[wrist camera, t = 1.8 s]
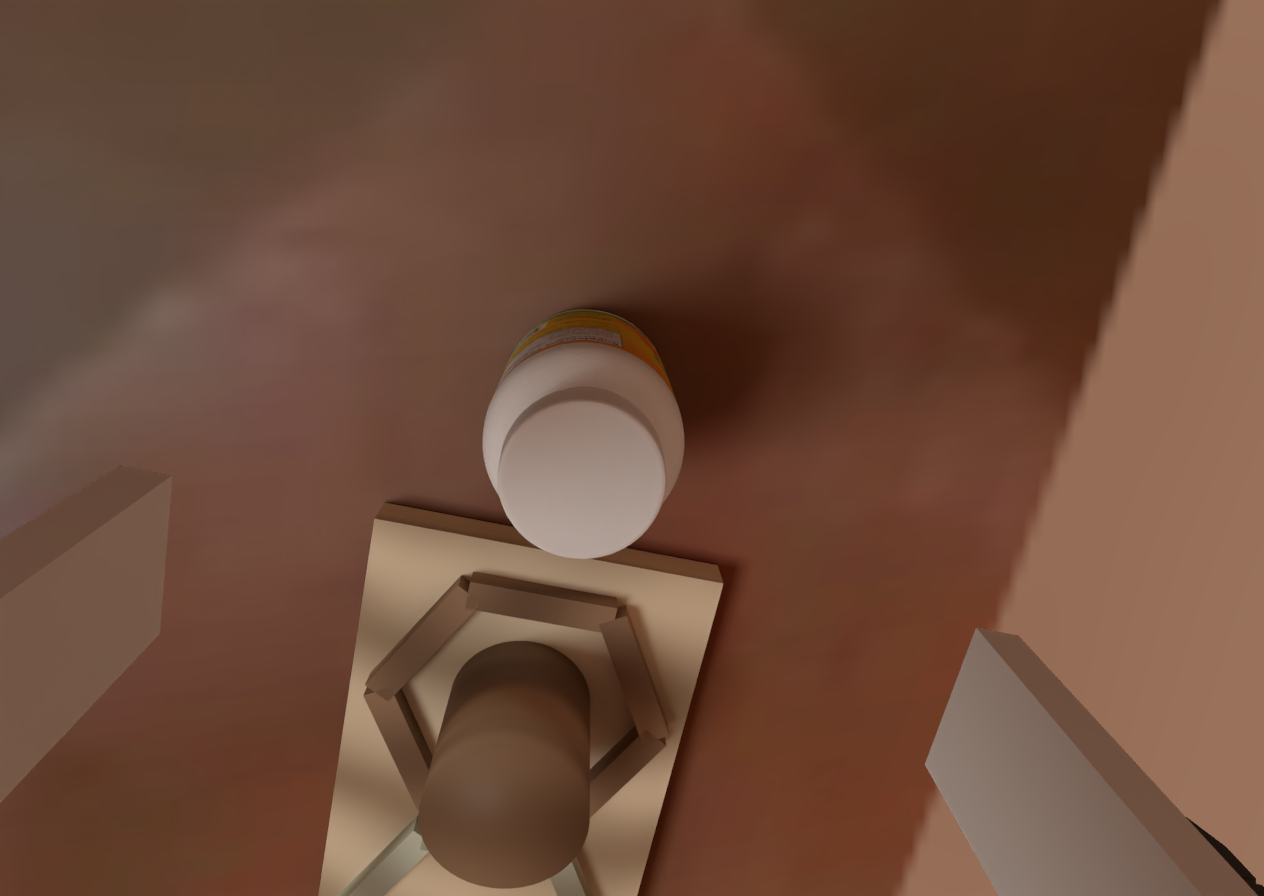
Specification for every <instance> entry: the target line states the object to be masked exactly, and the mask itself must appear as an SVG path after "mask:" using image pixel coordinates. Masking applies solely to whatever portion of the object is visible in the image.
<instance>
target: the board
mask: <svg viewBox="0 0 1264 896" xmlns="http://www.w3.org/2000/svg"><path fill="white" fill-rule="evenodd" d="M723 584H724V583H723V580H722V577H721V574H720V571H719V568H718V565H714V564H709V563H703V562H698V561H693V560H688V559H682V558H677V557H672V556H666V555H661V554H656V553H650V552H645V551H640V550H634V549H629V548H624V549H622V550H620V551H617V552H615V553H613V554H610V555H606V556H602V557H598V558H589V559H575V558H566V557H562V556H558V555H555V554H552V553H549V552H547V551H544V550H542V549H540V548H538V547H537V546H535V545H534V544H532V543H531V542H529V541H528V540H527V539H525V538H524V537H523V536H522V535H521V534H520V533H519V532H518V531H517V529H516V528H515V527H512V526H507V525H502V524H496V523H491V522H486V521H480V520H475V519H470V518H464V517H459V516H454V515H449V514H443V513H438V512H433V511H427V510H422V509H417V508H411V507H406V506H401V505H395V504H390V503H384V504H383V506H382V507H381V509H380V511H379V512H378V514H377V515H376V517H375V519H374V525H373V532H372V539H371V545H370V552H369V559H368V566H367V572H366V579H365V586H364V593H363V599H362V606H361V613H360V620H359V626H358V633H357V640H356V646H355V653H354V660H353V667H352V673H351V680H350V687H349V694H348V700H347V707H346V714H345V720H344V727H343V734H342V741H341V747H340V754H339V761H338V768H337V774H336V781H335V788H334V794H333V801H332V808H331V815H330V821H329V828H328V835H327V842H326V848H325V855H324V862H323V868H322V875H321V882H320V889H319V895H318V896H637V894H638V891H639V887H640V883H641V880H642V876H643V873H644V869H645V865H646V862H647V858H648V855H649V851H650V847H651V844H652V840H653V837H654V833H655V829H656V826H657V822H658V818H659V815H660V811H661V808H662V804H663V800H664V797H665V793H666V790H667V786H668V782H669V779H670V775H671V771H672V768H673V764H674V761H675V757H676V753H677V750H678V746H679V743H680V739H681V735H682V732H683V728H684V725H685V721H686V717H687V714H688V710H689V706H690V703H691V699H692V696H693V692H694V688H695V685H696V681H697V678H698V674H699V670H700V667H701V663H702V660H703V656H704V652H705V649H706V645H707V641H708V638H709V634H710V631H711V627H712V623H713V620H714V616H715V613H716V609H717V605H718V602H719V598H720V595H721V591H722V587H723ZM509 641H529V642H536V643H540V644H544V645H546V646H549V647H552V648H554V649H556V650H558V651H559V652H561V653H562V654H564V655H565V656H567V657H568V658H569V659H570V660H571V661H572V662H574V664H575V665H576V666H577V667H578V668H579V670H580V671H581V673H582V674H583V676H584V678H585V680H586V682H587V685H588V689H589V693H590V824H589V830H588V835H587V838H586V841H585V843H584V845H583V847H582V849H581V850H580V852H579V853H578V855H577V856H576V858H575V859H574V860H573V861H572V862H571V863H570V864H569V865H568V866H567V867H566V868H564V869H563V870H562V871H561V872H559V873H558V874H556V875H554V876H553V877H551V878H549V879H547V880H545V881H542V882H540V883H537V884H534V885H530V886H526V887H520V888H512V889H498V888H489V887H484V886H479V885H476V884H473V883H469V882H467V881H465V880H462V879H460V878H458V877H457V876H455V875H453V874H451V873H450V872H449V871H447V870H446V869H445V868H443V867H442V866H441V865H440V864H439V863H438V862H437V861H436V860H435V859H434V858H433V856H432V855H431V854H430V852H429V851H428V849H427V847H426V846H425V844H424V842H423V839H422V836H421V833H420V829H419V820H418V814H419V806H420V802H421V798H422V795H423V791H424V787H425V784H426V780H427V776H428V773H429V769H430V765H431V762H432V758H433V754H434V751H435V747H436V743H437V740H438V736H439V732H440V729H441V725H442V721H443V718H444V714H445V710H446V707H447V703H448V699H449V696H450V692H451V688H452V685H453V682H454V680H455V677H456V675H457V674H458V672H459V670H460V669H461V668H462V666H463V665H464V664H465V663H466V662H467V661H468V660H469V659H470V658H471V657H472V656H474V655H475V654H477V653H478V652H480V651H482V650H484V649H485V648H487V647H490V646H493V645H495V644H499V643H503V642H509Z"/></svg>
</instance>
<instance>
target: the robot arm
mask: <svg viewBox="0 0 1264 896" xmlns="http://www.w3.org/2000/svg"><path fill="white" fill-rule="evenodd" d="M171 487H172V475H168V474H162V473H157V472H152V471H147V470H141V469H136V468H131V467H126V466H119V467H117V468H116V469H114V470H113V471H111V472H109V473H108V474H106V475H104V476H103V477H101V478H100V479H98V480H96V481H95V482H93V483H91V484H90V485H88V486H87V487H85V488H83V489H82V490H80V491H78V492H77V493H75V494H74V495H72V496H70V497H69V498H67V499H65V500H64V501H62V502H61V503H59V504H57V505H56V506H54V507H52V508H51V509H49V510H48V511H46V512H44V513H43V514H41V515H40V516H38V517H36V518H35V519H33V520H31V521H30V522H28V523H27V524H25V525H23V526H22V527H20V528H18V529H17V530H15V531H14V532H12V533H10V534H9V535H7V536H5V537H4V538H2V539H1V540H0V802H1V801H2V800H3V799H4V798H5V797H6V796H7V795H8V794H9V793H10V792H11V791H12V790H13V789H14V788H15V787H16V785H17V784H18V783H19V782H20V781H21V780H22V779H23V778H24V777H25V776H26V775H27V774H28V773H29V772H30V771H31V770H32V769H33V767H34V766H35V765H36V764H37V763H38V762H39V761H40V760H41V759H42V758H43V757H44V756H45V755H46V754H47V753H48V752H49V750H50V749H51V748H52V747H53V746H54V745H55V744H56V743H57V742H58V741H59V740H60V739H61V738H62V737H63V736H64V735H65V734H66V732H67V731H68V730H69V729H70V728H71V727H72V726H73V725H74V724H75V723H76V722H77V721H78V720H79V719H80V718H81V717H82V716H83V714H84V713H85V712H86V711H87V710H88V709H89V708H90V707H91V706H92V705H93V704H94V703H95V702H96V701H97V700H98V699H99V697H100V696H101V695H102V694H103V693H104V692H105V691H106V690H107V689H108V688H109V687H110V686H111V685H112V684H113V683H114V682H115V681H116V679H117V678H118V677H119V676H120V675H121V674H122V673H123V672H124V671H125V670H126V669H127V668H128V667H129V666H130V665H131V664H132V663H133V661H134V660H135V659H136V658H137V657H138V656H139V655H140V654H141V653H142V652H143V651H144V650H145V649H146V648H147V647H148V646H149V644H150V643H151V642H152V641H153V640H154V639H155V638H156V637H157V636H158V635H159V634H160V624H161V611H162V599H163V586H164V574H165V562H166V549H167V537H168V524H169V512H170V500H171ZM925 766H926V768H927V769H928V771H929V773H930V775H931V776H932V778H933V780H934V782H935V784H936V785H937V787H938V789H939V791H940V792H941V794H942V796H943V798H944V800H945V801H946V803H947V805H948V807H949V808H950V810H951V812H952V814H953V816H954V817H955V819H956V821H957V823H958V824H959V826H960V828H961V830H962V832H963V833H964V835H965V837H966V838H967V841H968V842H969V844H970V846H971V848H972V849H973V851H974V853H975V855H976V856H977V858H978V860H979V862H980V864H981V865H982V867H983V869H984V871H985V873H986V874H987V876H988V878H989V880H990V881H991V883H992V885H993V887H994V889H995V890H996V892H997V894H998V896H1264V887H1263V886H1262V885H1258V884H1256V878H1255V877H1254V876H1253V875H1252V874H1251V873H1250V872H1249V871H1248V870H1247V869H1246V868H1245V867H1244V866H1243V864H1242V863H1241V862H1240V861H1239V860H1238V859H1237V858H1236V857H1235V856H1234V855H1233V854H1232V853H1231V852H1230V851H1229V850H1228V848H1226V847H1225V846H1224V845H1223V844H1221V843H1220V842H1219V841H1217V840H1216V839H1215V838H1214V837H1212V836H1211V835H1209V834H1208V833H1207V832H1205V831H1204V830H1203V829H1201V828H1200V827H1199V826H1198V825H1196V824H1195V823H1194V822H1192V821H1191V820H1190V819H1188V818H1187V817H1185V816H1184V815H1183V814H1182V813H1181V812H1180V811H1179V809H1178V808H1177V807H1176V806H1175V805H1174V804H1173V803H1172V802H1171V801H1170V800H1169V798H1168V797H1167V796H1166V795H1165V794H1164V793H1163V792H1162V791H1161V790H1160V789H1159V788H1158V787H1157V786H1156V784H1155V783H1154V782H1153V781H1152V780H1151V779H1150V778H1149V777H1148V776H1147V775H1146V774H1145V772H1143V770H1142V769H1141V768H1140V767H1139V766H1138V765H1137V764H1136V763H1135V762H1134V761H1133V759H1132V758H1131V757H1130V756H1129V755H1128V754H1127V753H1126V752H1125V751H1124V750H1123V749H1122V748H1121V746H1120V745H1119V744H1118V743H1117V742H1116V741H1115V740H1114V739H1113V738H1112V737H1111V736H1110V734H1109V733H1108V732H1107V731H1106V730H1105V729H1104V728H1103V727H1102V726H1101V725H1100V724H1099V723H1098V721H1097V720H1096V719H1095V718H1094V717H1093V716H1092V715H1091V714H1090V713H1089V712H1088V711H1087V709H1086V708H1085V707H1084V706H1083V705H1082V704H1081V703H1080V702H1079V701H1078V700H1077V699H1076V698H1075V697H1074V695H1072V693H1071V692H1070V691H1069V690H1068V689H1067V688H1066V687H1065V686H1064V685H1063V684H1062V682H1061V681H1060V680H1059V679H1058V678H1057V677H1056V676H1055V675H1054V674H1053V673H1052V672H1051V671H1050V669H1049V668H1048V667H1047V666H1046V665H1045V664H1044V663H1043V662H1042V661H1041V660H1040V659H1039V657H1038V656H1037V655H1036V654H1035V653H1034V652H1033V651H1032V650H1031V649H1030V648H1029V647H1028V645H1027V644H1026V643H1025V642H1024V641H1023V640H1022V639H1021V638H1020V637H1019V636H1018V635H1012V634H1006V633H1002V632H996V631H991V630H986V629H981V628H976V629H975V632H974V635H973V637H972V640H971V643H970V645H969V648H968V651H967V653H966V656H965V659H964V661H963V664H962V667H961V669H960V672H959V675H958V677H957V680H956V683H955V685H954V688H953V691H952V693H951V696H950V699H949V702H948V704H947V707H946V710H945V712H944V715H943V718H942V720H941V723H940V726H939V728H938V731H937V734H936V736H935V739H934V742H933V744H932V747H931V750H930V752H929V755H928V758H927V760H926V763H925Z"/></svg>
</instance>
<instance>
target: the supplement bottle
mask: <svg viewBox="0 0 1264 896" xmlns="http://www.w3.org/2000/svg"><path fill="white" fill-rule="evenodd" d="M483 455H484V461H485V465H486V469H487V472H488V475H489V478H490V480H491V483H492V485H493V487H494V489H495V490H496V492H497V494H498V495H499V497H500V500H501V503H502V506H503V508H504V511H505V513H506V515H507V517H508V518H509V520H510V521H511V523H512V524H513V526H514V527H515V528H516V529H517V531H518V532H519V533H520V534H521V535H522V536H523V537H524V538H525V539H527V540H528V541H529V542H531V543H532V544H534V545H535V546H537V547H538V548H540V549H542V550H544V551H547V552H549V553H552V554H555V555H558V556H562V557H566V558H575V559H589V558H598V557H602V556H606V555H610V554H613V553H615V552H617V551H620V550H622V549H624V548H626V547H627V546H629V545H630V544H632V543H633V542H634V541H636V540H637V539H638V538H639V537H640V536H642V535H643V534H644V532H645V531H646V530H647V529H648V528H649V527H650V525H651V524H652V523H653V521H654V520H655V518H656V516H657V514H658V512H659V510H660V508H661V505H662V503H663V502H664V501H665V499H666V498H667V496H668V495H669V493H670V492H671V490H672V488H673V486H674V485H675V482H676V480H677V478H678V475H679V472H680V469H681V465H682V461H683V455H684V429H683V423H682V417H681V414H680V410H679V407H678V404H677V402H676V399H675V396H674V393H673V390H672V387H671V384H670V382H669V379H668V376H667V374H666V371H665V368H664V366H663V363H662V361H661V358H660V356H659V354H658V353H657V351H656V349H655V347H654V346H653V345H652V343H651V342H650V340H649V339H648V338H647V337H646V336H645V335H644V334H643V333H642V332H641V331H640V330H639V329H638V328H637V327H636V326H634V325H633V324H632V323H630V322H628V321H627V320H625V319H623V318H621V317H619V316H617V315H614V314H611V313H608V312H604V311H598V310H587V309H579V310H570V311H566V312H562V313H559V314H556V315H554V316H552V317H550V318H547V319H545V320H544V321H542V322H541V323H539V324H538V325H536V326H535V327H534V328H533V329H531V330H530V331H529V332H528V333H527V334H526V335H525V336H524V337H523V338H522V340H521V341H520V342H519V344H518V345H517V347H516V348H515V349H514V351H513V353H512V355H511V357H510V359H509V361H508V363H507V365H506V368H505V370H504V372H503V375H502V377H501V379H500V382H499V384H498V387H497V389H496V391H495V393H494V395H493V397H492V399H491V402H490V405H489V407H488V410H487V414H486V418H485V423H484V430H483Z"/></svg>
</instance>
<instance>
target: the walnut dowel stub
mask: <svg viewBox="0 0 1264 896" xmlns="http://www.w3.org/2000/svg"><path fill="white" fill-rule="evenodd" d="M418 820H419V829H420V833H421V836H422V839H423V842H424V844H425V846H426V847H427V849H428V851H429V852H430V854H431V855H432V856H433V858H434V859H435V860H436V861H437V862H438V863H439V864H440V865H441V866H442V867H443V868H445V869H446V870H447V871H449V872H450V873H451V874H453V875H455V876H457V877H458V878H460V879H462V880H465V881H467V882H469V883H473V884H476V885H479V886H484V887H489V888H498V889H512V888H520V887H526V886H530V885H534V884H537V883H540V882H542V881H545V880H547V879H549V878H551V877H553V876H554V875H556V874H558V873H559V872H561V871H562V870H563V869H564V868H566V867H567V866H568V865H569V864H570V863H571V862H572V861H573V860H574V859H575V858H576V856H577V855H578V853H579V852H580V850H581V849H582V847H583V845H584V843H585V841H586V838H587V835H588V830H589V824H590V693H589V689H588V685H587V682H586V680H585V678H584V676H583V674H582V673H581V671H580V670H579V668H578V667H577V666H576V665H575V664H574V662H572V661H571V660H570V659H569V658H568V657H567V656H565V655H564V654H562V653H561V652H559V651H558V650H556V649H554V648H552V647H549V646H546V645H544V644H540V643H536V642H529V641H509V642H503V643H499V644H495V645H493V646H490V647H487V648H485V649H484V650H482V651H480V652H478V653H477V654H475V655H474V656H472V657H471V658H470V659H469V660H468V661H467V662H466V663H465V664H464V665H463V666H462V668H461V669H460V670H459V672H458V674H457V675H456V677H455V680H454V682H453V685H452V688H451V692H450V696H449V699H448V703H447V707H446V710H445V714H444V718H443V721H442V725H441V729H440V732H439V736H438V740H437V743H436V747H435V751H434V754H433V758H432V762H431V765H430V769H429V773H428V776H427V780H426V784H425V787H424V791H423V795H422V798H421V802H420V806H419V814H418Z"/></svg>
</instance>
